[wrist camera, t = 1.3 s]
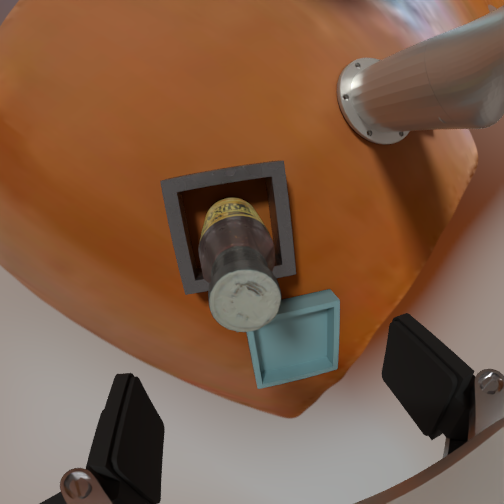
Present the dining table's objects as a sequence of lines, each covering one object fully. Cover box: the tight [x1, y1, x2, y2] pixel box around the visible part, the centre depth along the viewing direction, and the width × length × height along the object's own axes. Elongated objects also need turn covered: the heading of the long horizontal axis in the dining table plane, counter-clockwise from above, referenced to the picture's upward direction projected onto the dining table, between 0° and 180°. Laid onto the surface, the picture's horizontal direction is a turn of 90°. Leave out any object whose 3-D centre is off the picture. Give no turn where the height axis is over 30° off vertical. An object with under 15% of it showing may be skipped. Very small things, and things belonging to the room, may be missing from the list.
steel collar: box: [160, 161, 296, 295], centre depth 32 cm, size 13×13×4 cm
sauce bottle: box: [198, 198, 281, 332], centre depth 24 cm, size 6×6×20 cm
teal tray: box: [246, 289, 340, 389], centre depth 38 cm, size 13×13×4 cm
